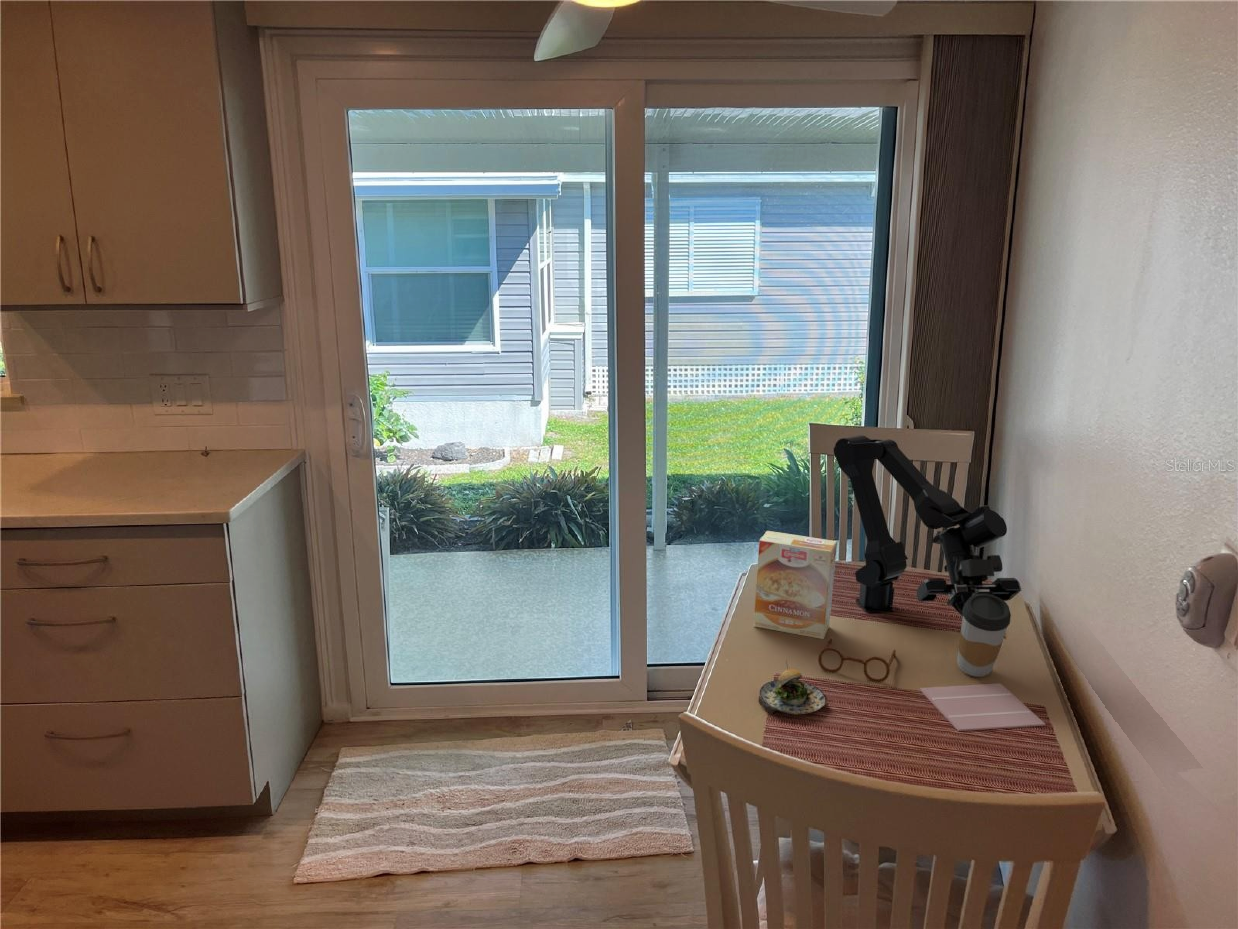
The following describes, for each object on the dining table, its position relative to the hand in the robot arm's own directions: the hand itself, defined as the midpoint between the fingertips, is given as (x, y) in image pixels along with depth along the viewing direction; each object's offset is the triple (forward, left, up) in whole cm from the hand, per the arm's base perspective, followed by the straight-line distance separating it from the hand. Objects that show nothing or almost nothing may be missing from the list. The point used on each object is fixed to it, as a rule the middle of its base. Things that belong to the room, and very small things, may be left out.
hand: (978, 631), depth 171 cm
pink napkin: (-6, -13, -8) cm, 17 cm away
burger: (-39, -8, -8) cm, 41 cm away
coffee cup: (0, -1, -7) cm, 7 cm away
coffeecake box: (-29, +22, -8) cm, 37 cm away
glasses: (-21, +5, -8) cm, 23 cm away
